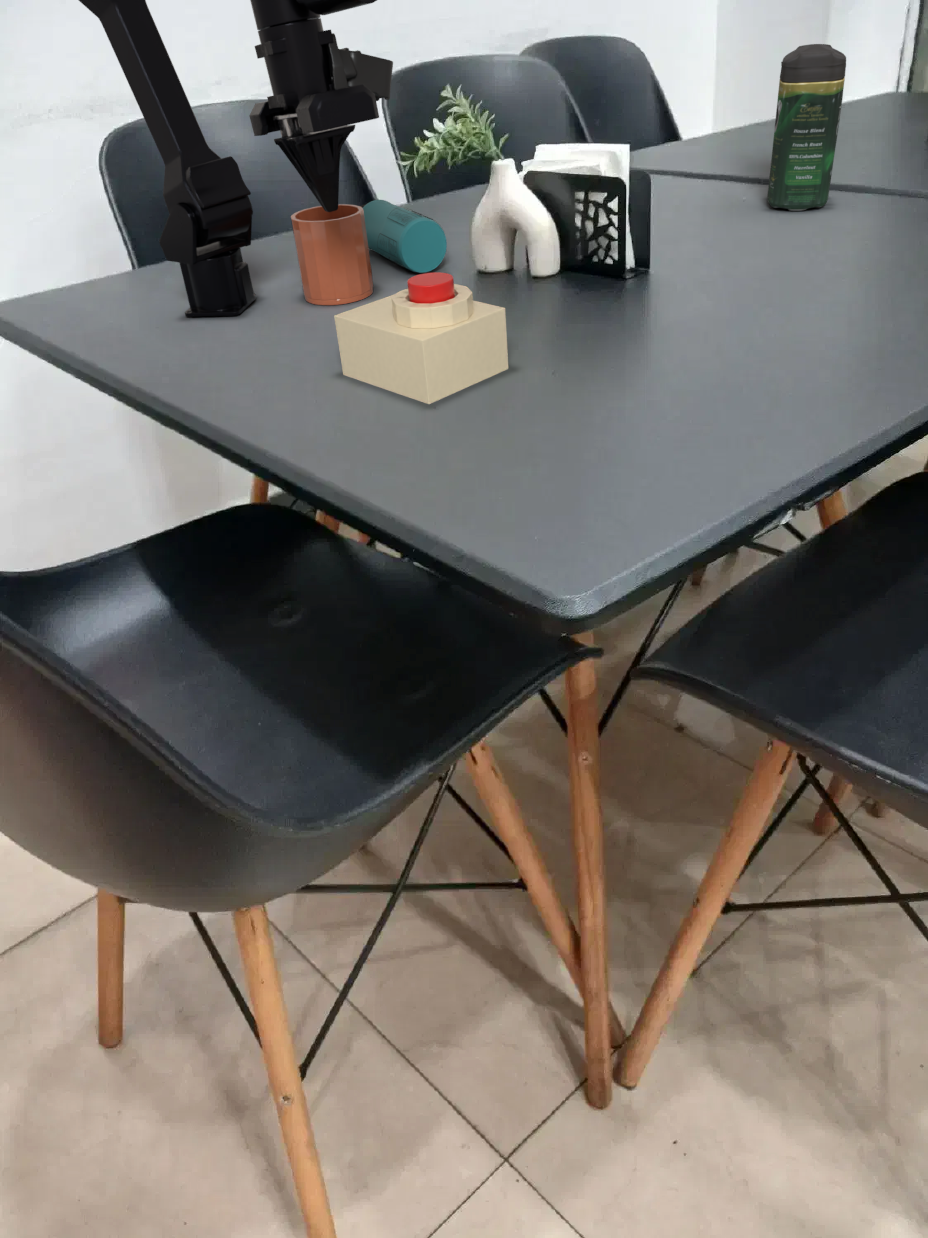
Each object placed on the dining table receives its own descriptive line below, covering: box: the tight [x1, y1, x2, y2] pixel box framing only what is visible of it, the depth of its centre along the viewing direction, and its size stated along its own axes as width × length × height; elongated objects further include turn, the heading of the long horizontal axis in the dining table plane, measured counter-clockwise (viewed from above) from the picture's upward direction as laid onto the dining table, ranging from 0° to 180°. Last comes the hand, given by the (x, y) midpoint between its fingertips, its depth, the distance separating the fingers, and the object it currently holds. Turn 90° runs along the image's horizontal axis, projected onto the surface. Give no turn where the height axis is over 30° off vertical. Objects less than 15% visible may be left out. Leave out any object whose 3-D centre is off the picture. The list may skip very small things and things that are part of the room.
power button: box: [406, 271, 455, 304], centre depth 85 cm, size 4×4×2 cm
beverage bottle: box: [359, 199, 448, 275], centre depth 121 cm, size 6×7×20 cm
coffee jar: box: [767, 43, 847, 212], centre depth 125 cm, size 10×8×19 cm
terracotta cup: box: [290, 203, 374, 306], centre depth 110 cm, size 8×8×9 cm
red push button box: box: [333, 283, 509, 405], centre depth 88 cm, size 12×10×8 cm
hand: (331, 210), depth 94 cm, fingers closed
